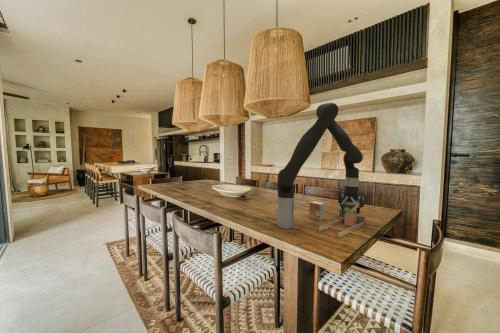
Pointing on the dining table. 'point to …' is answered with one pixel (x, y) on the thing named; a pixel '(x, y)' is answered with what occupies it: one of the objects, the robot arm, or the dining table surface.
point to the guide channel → (359, 224)
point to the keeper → (350, 219)
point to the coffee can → (346, 208)
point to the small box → (317, 210)
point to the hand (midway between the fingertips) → (350, 212)
